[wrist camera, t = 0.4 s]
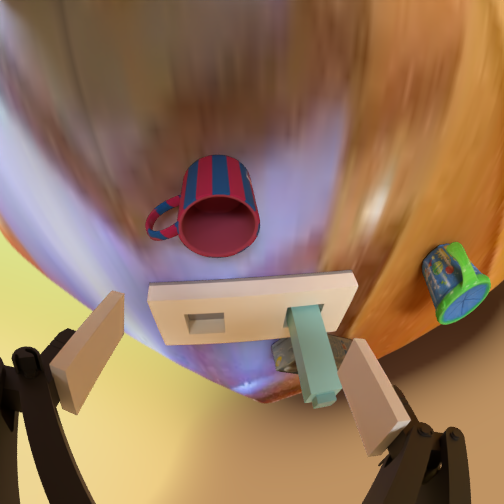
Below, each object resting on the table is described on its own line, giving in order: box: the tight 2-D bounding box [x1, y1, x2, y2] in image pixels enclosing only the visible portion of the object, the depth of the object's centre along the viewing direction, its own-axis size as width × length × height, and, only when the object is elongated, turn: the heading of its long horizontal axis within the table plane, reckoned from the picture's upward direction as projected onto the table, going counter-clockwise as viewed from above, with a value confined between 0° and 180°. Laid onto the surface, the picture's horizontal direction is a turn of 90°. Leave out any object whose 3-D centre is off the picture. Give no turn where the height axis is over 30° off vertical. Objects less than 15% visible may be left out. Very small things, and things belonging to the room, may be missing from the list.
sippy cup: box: [422, 242, 491, 325], centre depth 37 cm, size 16×10×10 cm
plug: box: [286, 304, 342, 409], centre depth 37 cm, size 4×4×16 cm
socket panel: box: [147, 270, 358, 345], centre depth 41 cm, size 12×28×3 cm, turn 88°
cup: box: [145, 155, 260, 258], centre depth 25 cm, size 7×10×7 cm
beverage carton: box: [272, 334, 353, 374], centre depth 53 cm, size 8×19×7 cm, turn 56°
